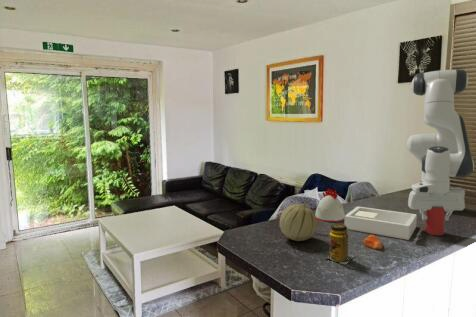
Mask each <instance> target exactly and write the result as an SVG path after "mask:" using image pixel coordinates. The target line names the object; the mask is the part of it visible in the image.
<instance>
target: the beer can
mask: <svg viewBox="0 0 476 317" xmlns="http://www.w3.org/2000/svg"><path fill="white" fill-rule="evenodd" d="M425 215H426V216H427V220H425V228H424V229H425V232H426V233H427V234H428V235H431V236H436V237H439V236H440V237H441V236H443V235H444V234H445V215H446V212H445V210H444V208H443V206H442V207H434V206H432V208H431V209H430V210H426V211H425Z"/></svg>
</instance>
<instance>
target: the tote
mask: <svg viewBox="0 0 476 317" xmlns="http://www.w3.org/2000/svg"><path fill="white" fill-rule="evenodd" d="M359 211H365V212H372V213H378V220H374V219H368V218H361V217H355V216H354V215H355V214H356V213H357V212H359ZM417 219H418V216H417V214H415V213H411V212H410V213H409V212H401V211H394V210H387V209H379V208H373V207H366V206H365V207H364V206H355V207H354V209H352V210H351V211H348V213H346V214H345V216H344V220H343V221H344V223H343V225H345V226H346V227H347V230H351V231H357V232H361V233H367V234H371V235H378V236H384V237H390V238H396V239H401V240H402V239H403V240H406V241H407V240H408V241H409V240H410V238H411V237H412V235H413V234H414V231H416V228H417Z"/></svg>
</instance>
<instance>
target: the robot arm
mask: <svg viewBox="0 0 476 317" xmlns="http://www.w3.org/2000/svg"><path fill="white" fill-rule="evenodd" d="M468 85H469V76H468V73H467V71H466V70H465V69H459V68H458V69H457V68H456V69H439V70H433V71H426V72H420V73H417V74H415V75H414V76H413V79H412V81H411V90H412V92H413V93H414V95H417V96H419V97H420V96H424V103H423V104H424V105H423V122H424V124H425V125H427V126H428V127H430V128H433V129H435V130H436V131H437V132H436V133H416V134H411V135H410V136H409V137H408V138H407V140H406V148H407V150H408V152H409V153H410V154H412V155H413V156H414V157H415V158H416V159H417V160H418V163H419V164H420V168H421V169H420V171H421V180H420V182H417V183H413V184H412V185H411V191H410V192H409V195H408V200H407V205H408V207H409V209H411V210H418V211H419V214H421V219H422V221H426V220H427V216H426V214H425V213H426V210H430V209H431V208H432V206H434V207H442V206H443V208H444V210H445V221H446V222H448V221H449V220H450V217H451V215H452V214H453V212H455V211H464V209H465V208H466V205H465V202H466V201H465V196H466V191H465V189H464V188H462V187H461V186H457V187H456V186H455V187H453V186H451V178H450V177H453V178H458V179H459V178H460V179H465V178H467V177H469V176H471V175H473V173H474V171H475V162H474V160H473V157H472V152H471V148H470V142H469V136H468V133H467V128H466V124H465V119H464V117H463V116H462V115H459V114H458V113H457V111H456V109H455V95H457V94H461V93H462V92H464V91H466V88H467V87H468Z"/></svg>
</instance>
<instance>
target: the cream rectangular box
mask: <svg viewBox="0 0 476 317" xmlns="http://www.w3.org/2000/svg"><path fill="white" fill-rule="evenodd" d="M354 216H355V217H361V218H368V219H374V220H378V213H372V212H365V211H359V212H357V213H356V214H355V215H354Z"/></svg>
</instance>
